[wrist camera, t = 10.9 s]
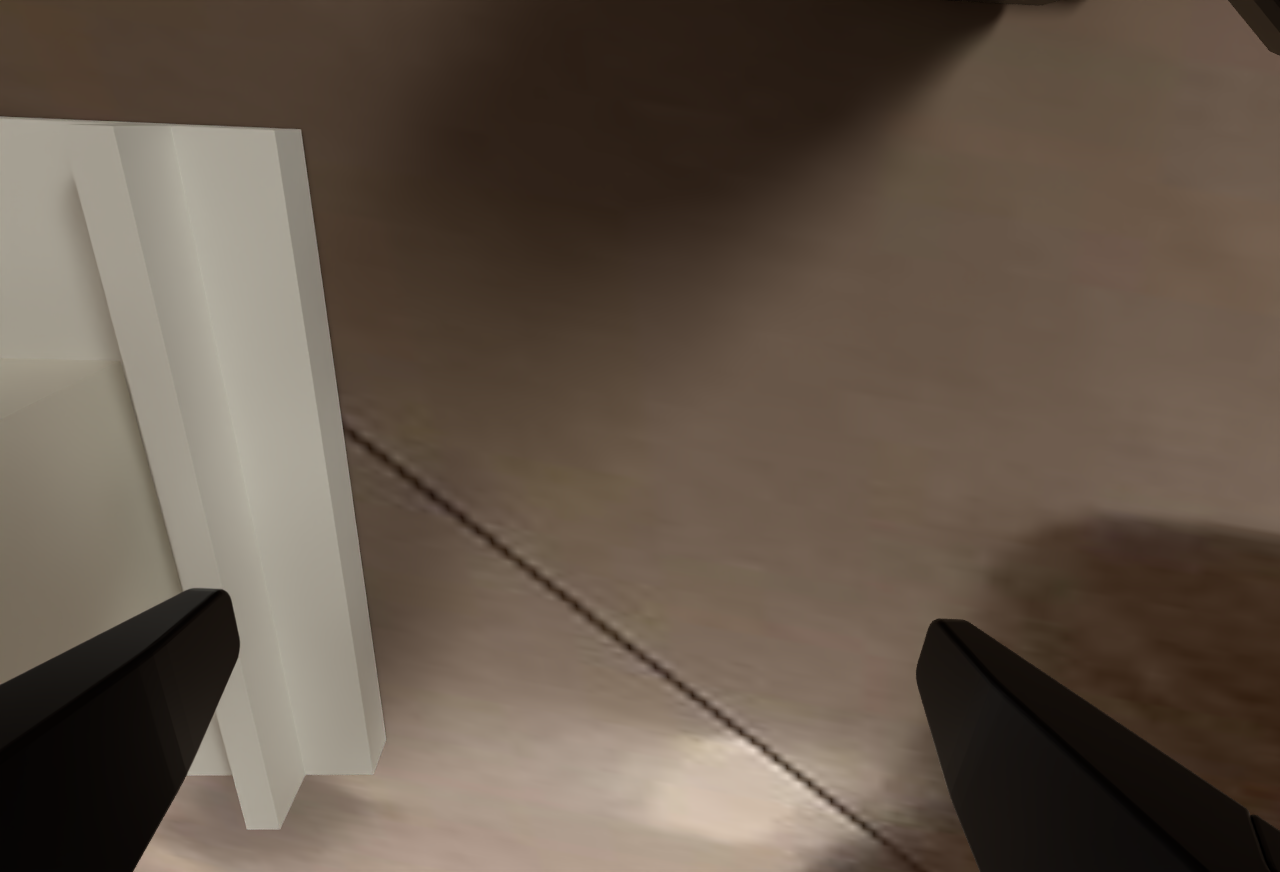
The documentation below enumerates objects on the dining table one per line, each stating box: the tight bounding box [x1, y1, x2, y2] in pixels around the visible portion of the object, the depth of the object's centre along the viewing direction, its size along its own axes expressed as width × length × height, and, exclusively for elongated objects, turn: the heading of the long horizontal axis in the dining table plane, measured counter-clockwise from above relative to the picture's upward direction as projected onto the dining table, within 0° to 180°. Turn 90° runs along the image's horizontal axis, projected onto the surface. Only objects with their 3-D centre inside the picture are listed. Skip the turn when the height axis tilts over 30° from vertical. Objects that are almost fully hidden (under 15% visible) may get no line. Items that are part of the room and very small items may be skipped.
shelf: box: [0, 117, 386, 830], centre depth 19 cm, size 20×14×4 cm
